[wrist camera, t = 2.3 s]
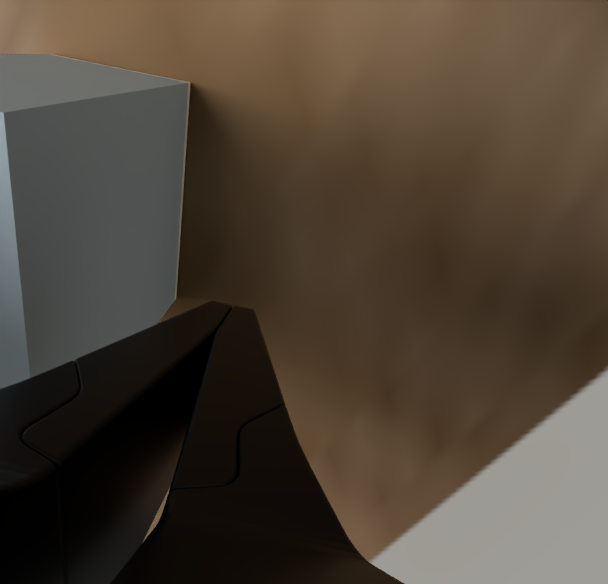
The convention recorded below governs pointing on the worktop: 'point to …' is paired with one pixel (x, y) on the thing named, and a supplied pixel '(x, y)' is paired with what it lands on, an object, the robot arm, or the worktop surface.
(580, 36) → the worktop surface
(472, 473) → the worktop surface
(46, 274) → the light blue box
